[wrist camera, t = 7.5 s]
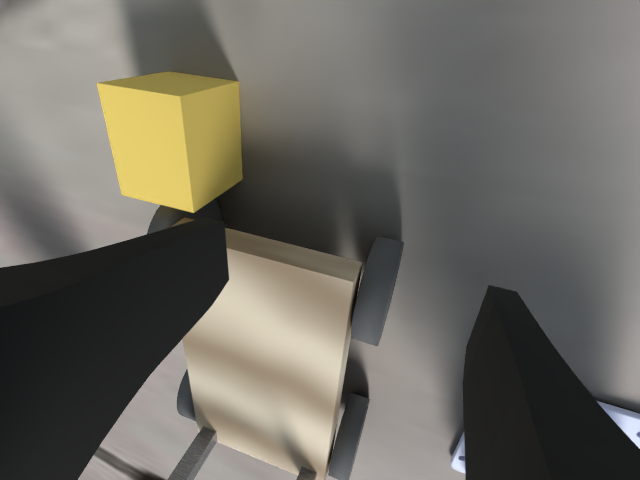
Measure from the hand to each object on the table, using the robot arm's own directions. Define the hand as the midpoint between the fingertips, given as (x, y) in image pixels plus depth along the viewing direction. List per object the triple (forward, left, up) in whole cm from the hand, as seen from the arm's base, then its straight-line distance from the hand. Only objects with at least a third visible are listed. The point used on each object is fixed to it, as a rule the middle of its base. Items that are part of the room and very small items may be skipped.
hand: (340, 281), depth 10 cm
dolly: (-11, +5, -9) cm, 15 cm away
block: (+1, +10, -9) cm, 14 cm away
